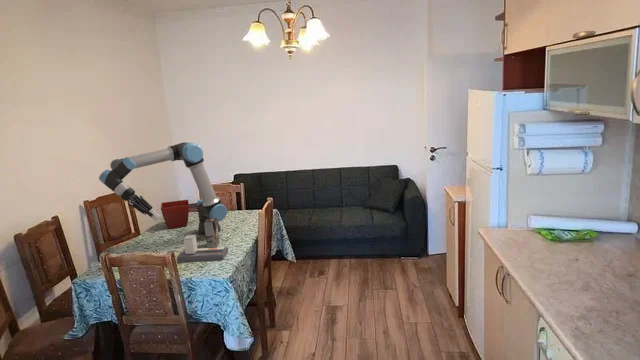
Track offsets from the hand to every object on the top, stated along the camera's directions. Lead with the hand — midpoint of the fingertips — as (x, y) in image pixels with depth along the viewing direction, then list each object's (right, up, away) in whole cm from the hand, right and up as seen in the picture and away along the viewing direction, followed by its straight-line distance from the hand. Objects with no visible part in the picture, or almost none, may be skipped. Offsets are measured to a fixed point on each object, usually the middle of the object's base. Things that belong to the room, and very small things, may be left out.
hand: (158, 218), depth 239 cm
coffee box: (+25, -18, +23) cm, 39 cm away
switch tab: (+18, -19, +3) cm, 27 cm away
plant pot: (-13, -12, +72) cm, 74 cm away
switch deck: (+25, -22, +3) cm, 33 cm away
